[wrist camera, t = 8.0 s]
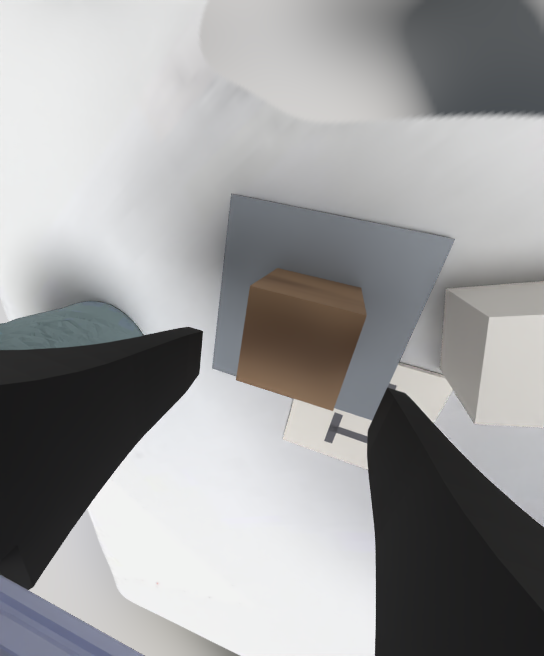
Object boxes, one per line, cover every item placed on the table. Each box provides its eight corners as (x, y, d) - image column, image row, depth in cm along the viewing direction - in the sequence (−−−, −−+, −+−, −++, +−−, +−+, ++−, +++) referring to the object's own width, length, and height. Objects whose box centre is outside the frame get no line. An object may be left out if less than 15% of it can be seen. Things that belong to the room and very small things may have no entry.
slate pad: (371, 415, 18) (372, 420, 18) (215, 365, 20) (212, 368, 20) (451, 238, 13) (455, 239, 13) (234, 194, 15) (231, 193, 15)
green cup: (167, 323, 20) (-40, 439, 9) (151, 416, 24) (-3, 567, 14) (58, 274, 21) (-240, 326, 10) (61, 371, 26) (-147, 478, 15)
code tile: (398, 476, 20) (399, 481, 19) (283, 435, 21) (282, 439, 21) (455, 378, 16) (458, 382, 16) (311, 337, 17) (310, 340, 17)
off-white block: (542, 368, 15) (627, 432, 10) (439, 368, 16) (474, 424, 12) (561, 279, 13) (674, 308, 8) (445, 288, 14) (489, 317, 10)
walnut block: (336, 361, 17) (332, 411, 13) (264, 340, 18) (235, 379, 13) (361, 287, 15) (366, 315, 11) (277, 268, 16) (249, 285, 11)
